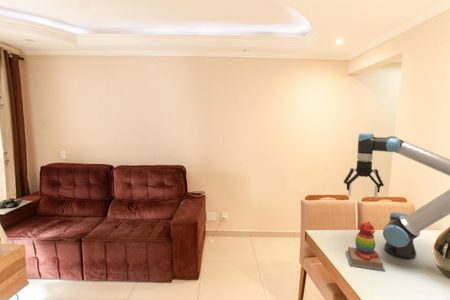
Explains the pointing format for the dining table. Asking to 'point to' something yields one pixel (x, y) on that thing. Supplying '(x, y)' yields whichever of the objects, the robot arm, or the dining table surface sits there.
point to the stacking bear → (366, 242)
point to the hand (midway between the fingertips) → (362, 196)
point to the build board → (364, 261)
